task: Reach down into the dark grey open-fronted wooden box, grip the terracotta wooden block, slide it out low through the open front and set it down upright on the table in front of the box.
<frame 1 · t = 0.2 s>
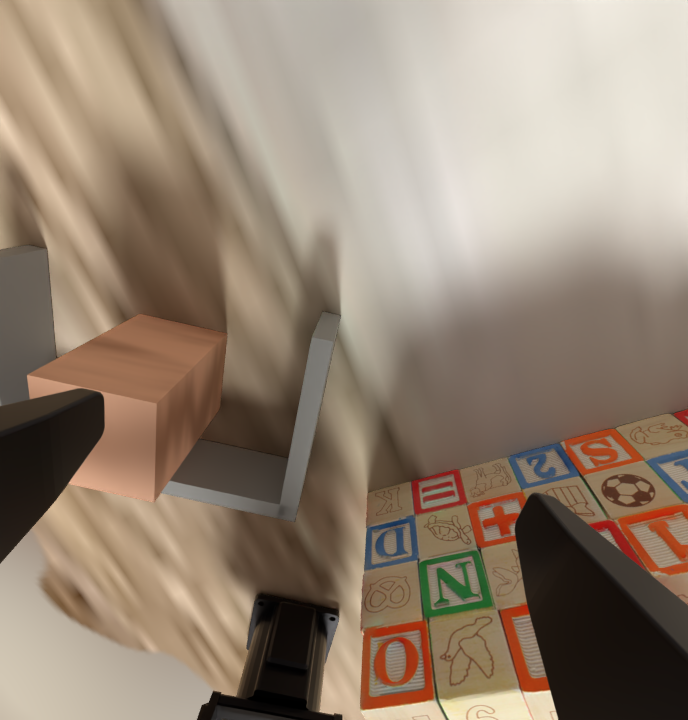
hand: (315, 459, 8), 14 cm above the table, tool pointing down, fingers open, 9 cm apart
stack of blocks: (541, 483, 26), on the table
terracotta block: (146, 395, 20), in the open-fronted box
open-fronted box: (181, 363, 24), on the table
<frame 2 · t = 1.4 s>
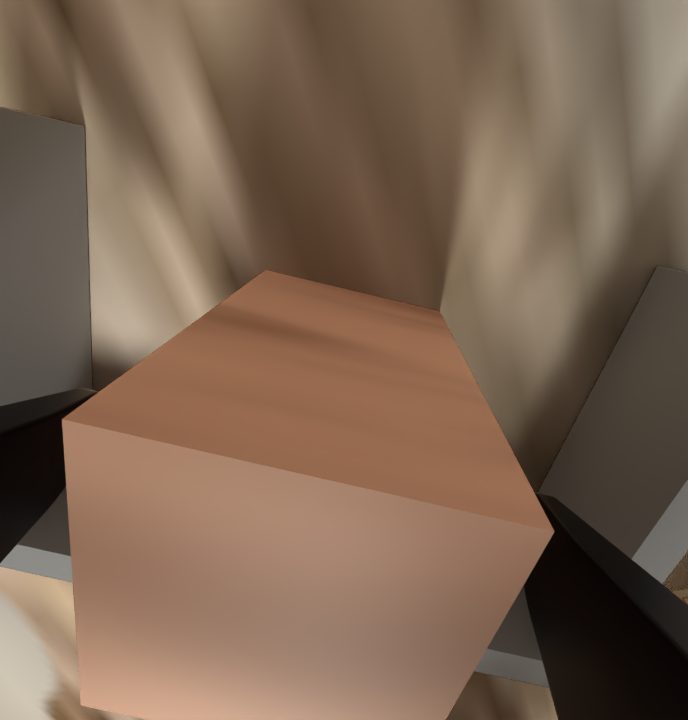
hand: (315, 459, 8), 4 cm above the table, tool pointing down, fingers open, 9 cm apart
terracotta block: (316, 445, 9), in the open-fronted box
open-fronted box: (334, 370, 12), on the table
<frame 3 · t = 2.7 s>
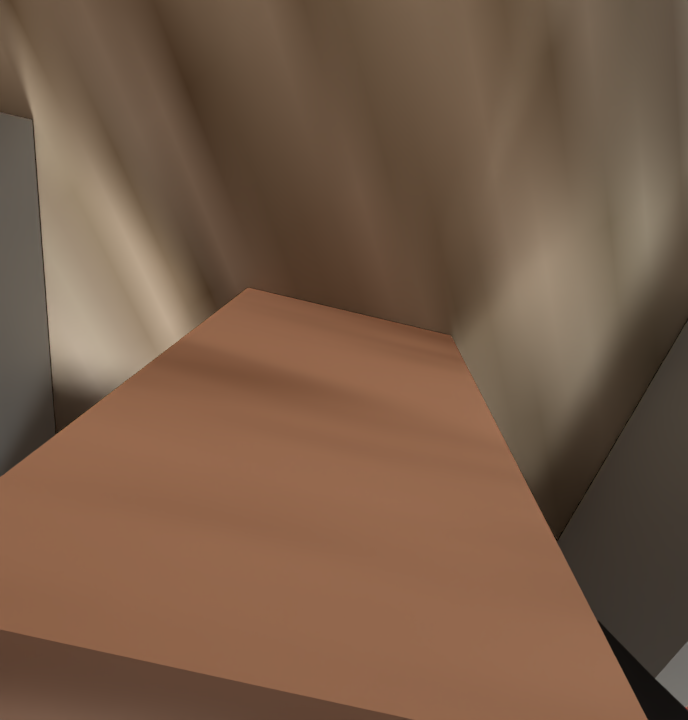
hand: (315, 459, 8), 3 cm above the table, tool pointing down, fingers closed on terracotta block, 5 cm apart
terracotta block: (304, 510, 7), in the open-fronted box, touching gripper
open-fronted box: (328, 401, 11), on the table
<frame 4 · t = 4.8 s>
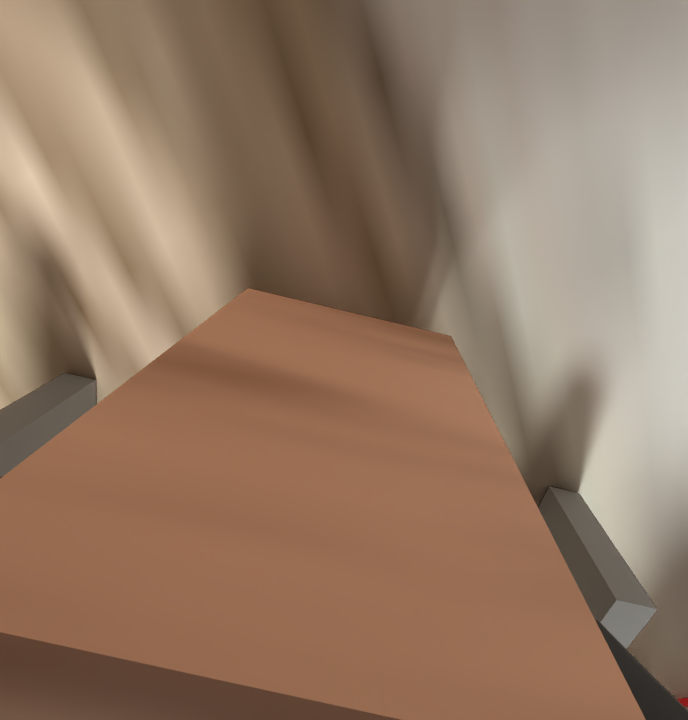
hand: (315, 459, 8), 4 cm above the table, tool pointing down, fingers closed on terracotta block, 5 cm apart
terracotta block: (303, 511, 7), point 6 cm above the table, touching gripper
open-fronted box: (297, 545, 15), on the table
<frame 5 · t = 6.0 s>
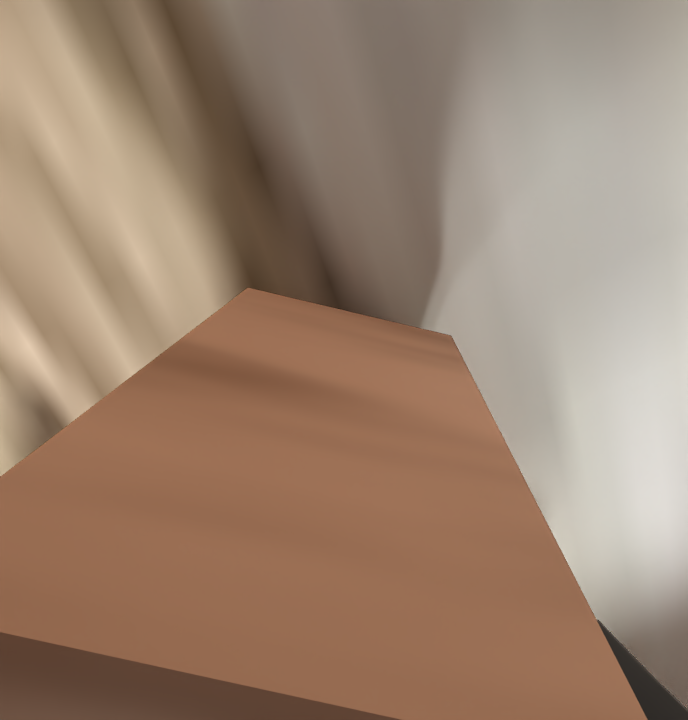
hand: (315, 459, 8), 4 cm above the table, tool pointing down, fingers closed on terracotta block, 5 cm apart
terracotta block: (304, 511, 7), point 5 cm above the table, touching gripper
when the fingers open (3 cm above the table, at t = 6.9 s): terracotta block stays where it is, on the table.
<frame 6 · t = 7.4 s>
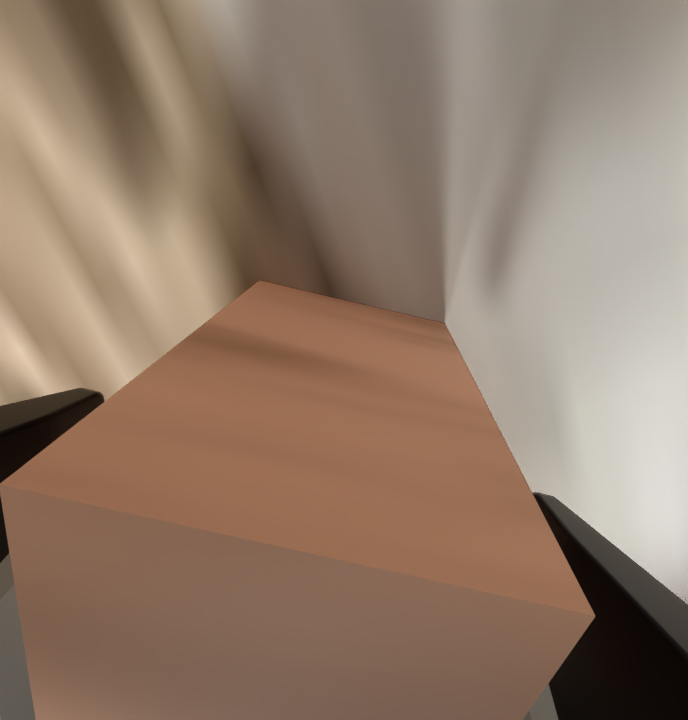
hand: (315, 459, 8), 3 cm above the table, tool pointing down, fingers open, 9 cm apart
terracotta block: (313, 474, 8), on the table
open-fronted box: (271, 644, 16), on the table
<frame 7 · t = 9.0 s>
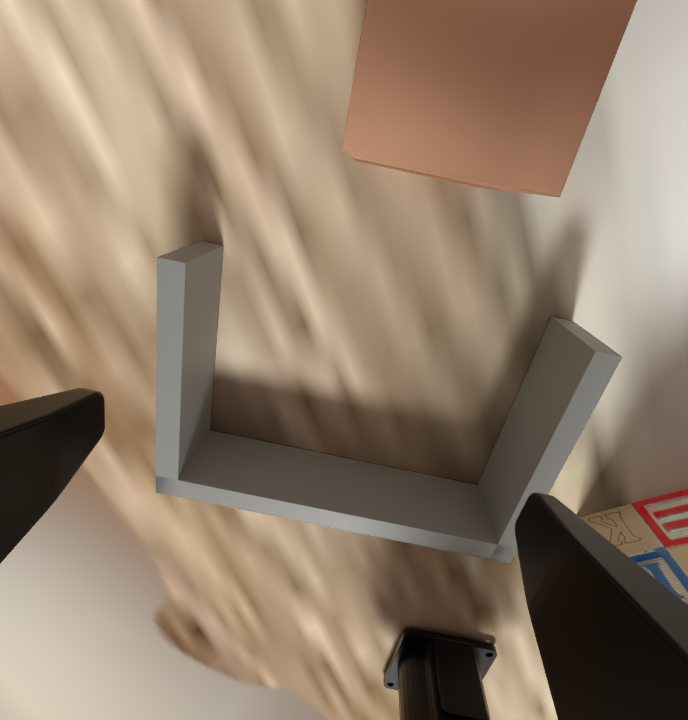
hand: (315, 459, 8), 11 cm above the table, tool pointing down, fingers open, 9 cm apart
terracotta block: (453, 79, 12), on the table
open-fronted box: (364, 378, 20), on the table
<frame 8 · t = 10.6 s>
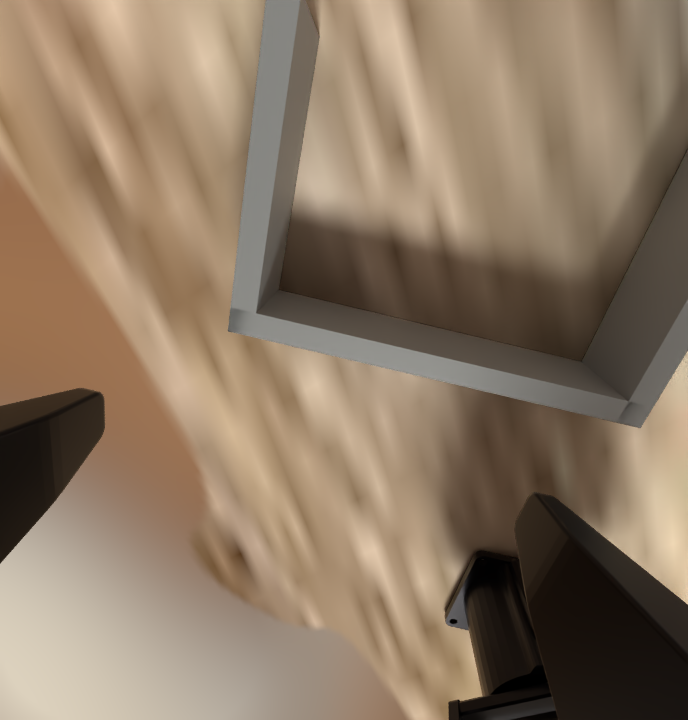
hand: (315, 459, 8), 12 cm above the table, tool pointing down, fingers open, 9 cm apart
open-fronted box: (466, 218, 18), on the table
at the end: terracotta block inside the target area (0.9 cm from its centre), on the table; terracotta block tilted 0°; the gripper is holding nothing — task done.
